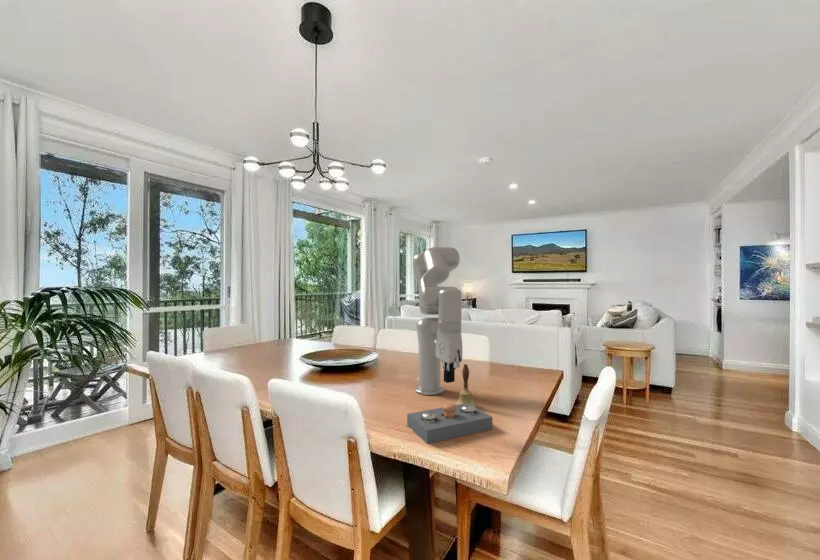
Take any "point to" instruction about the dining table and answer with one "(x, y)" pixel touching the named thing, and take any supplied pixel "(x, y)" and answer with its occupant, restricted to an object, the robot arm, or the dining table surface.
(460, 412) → the panel
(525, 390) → the dining table surface
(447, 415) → the peach grooved knob
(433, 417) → the ball
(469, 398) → the hand bell
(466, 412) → the silver rounded piece
